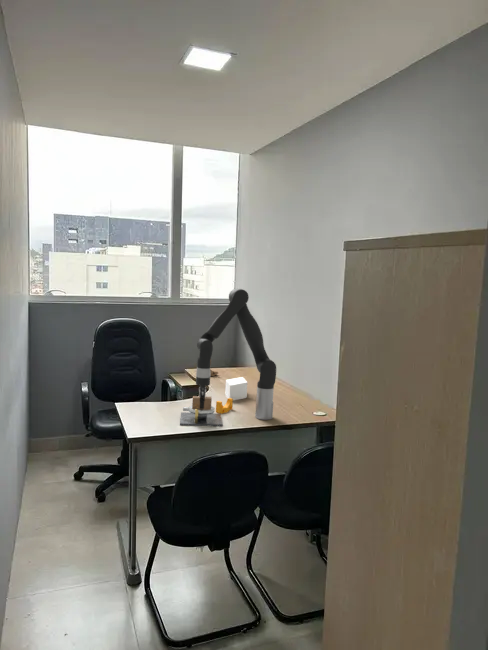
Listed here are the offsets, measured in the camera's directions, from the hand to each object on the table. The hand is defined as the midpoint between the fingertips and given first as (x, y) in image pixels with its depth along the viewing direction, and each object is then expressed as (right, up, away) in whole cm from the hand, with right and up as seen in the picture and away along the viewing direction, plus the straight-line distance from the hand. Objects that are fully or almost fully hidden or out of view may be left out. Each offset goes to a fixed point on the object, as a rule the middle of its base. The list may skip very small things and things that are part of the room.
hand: (201, 407), depth 265 cm
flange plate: (-2, -2, 0) cm, 2 cm away
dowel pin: (-2, -8, -8) cm, 11 cm away
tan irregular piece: (-7, +5, +117) cm, 117 cm away
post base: (0, -7, +1) cm, 7 cm away
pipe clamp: (+12, -6, +21) cm, 25 cm away
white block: (+17, -3, +57) cm, 59 cm away
